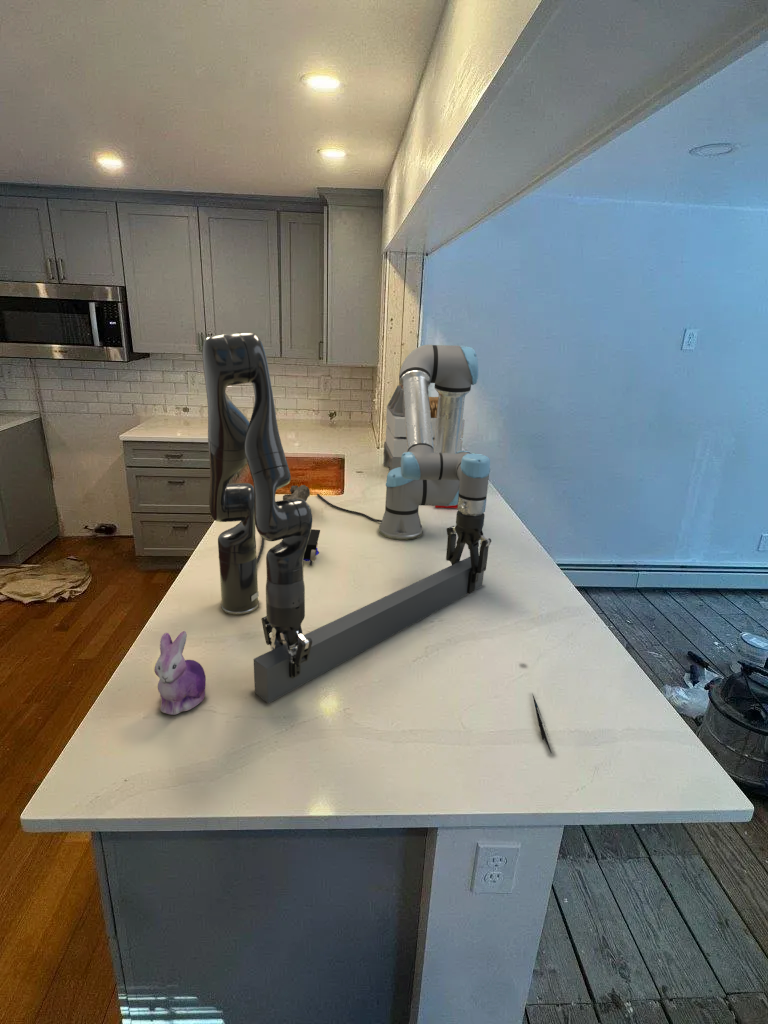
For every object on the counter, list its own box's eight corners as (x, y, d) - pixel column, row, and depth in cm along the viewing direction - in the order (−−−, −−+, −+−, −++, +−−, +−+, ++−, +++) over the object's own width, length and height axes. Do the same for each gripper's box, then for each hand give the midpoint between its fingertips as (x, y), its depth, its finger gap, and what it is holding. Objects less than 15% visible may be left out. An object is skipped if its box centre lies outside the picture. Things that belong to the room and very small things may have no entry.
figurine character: (316, 572, 171) (321, 547, 184) (316, 550, 168) (320, 527, 181) (294, 572, 171) (300, 547, 184) (293, 550, 167) (299, 526, 181)
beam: (469, 580, 167) (472, 555, 165) (482, 586, 164) (485, 560, 162) (254, 693, 115) (253, 658, 112) (268, 703, 112) (266, 668, 110)
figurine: (161, 723, 106) (153, 655, 100) (154, 691, 114) (147, 626, 109) (213, 709, 110) (208, 643, 105) (202, 680, 118) (198, 616, 113)
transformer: (382, 463, 289) (386, 382, 275) (445, 464, 293) (451, 384, 279) (390, 482, 257) (394, 392, 243) (460, 483, 261) (468, 394, 247)
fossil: (279, 491, 226) (308, 470, 221) (295, 509, 228) (323, 489, 223) (264, 515, 206) (294, 493, 201) (281, 534, 209) (312, 514, 204)
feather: (523, 669, 129) (529, 663, 128) (551, 758, 102) (558, 750, 101) (517, 665, 128) (523, 659, 128) (543, 753, 102) (550, 746, 101)
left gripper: (248, 590, 113) (251, 663, 119) (292, 618, 104) (293, 695, 110) (278, 579, 118) (280, 649, 124) (323, 604, 109) (323, 678, 115)
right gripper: (436, 506, 156) (430, 582, 164) (490, 523, 145) (481, 604, 153) (453, 500, 162) (446, 574, 170) (506, 517, 150) (496, 595, 158)
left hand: (286, 670), depth 117 cm, fingers closed on beam, 4 cm apart
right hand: (463, 588), depth 161 cm, fingers closed on beam, 5 cm apart
